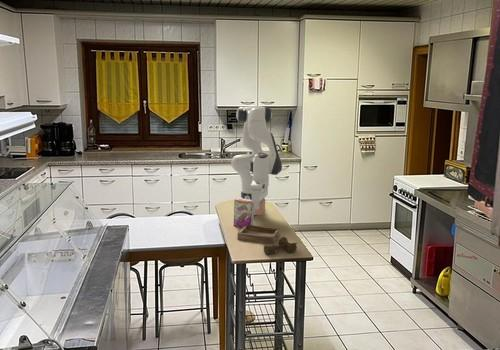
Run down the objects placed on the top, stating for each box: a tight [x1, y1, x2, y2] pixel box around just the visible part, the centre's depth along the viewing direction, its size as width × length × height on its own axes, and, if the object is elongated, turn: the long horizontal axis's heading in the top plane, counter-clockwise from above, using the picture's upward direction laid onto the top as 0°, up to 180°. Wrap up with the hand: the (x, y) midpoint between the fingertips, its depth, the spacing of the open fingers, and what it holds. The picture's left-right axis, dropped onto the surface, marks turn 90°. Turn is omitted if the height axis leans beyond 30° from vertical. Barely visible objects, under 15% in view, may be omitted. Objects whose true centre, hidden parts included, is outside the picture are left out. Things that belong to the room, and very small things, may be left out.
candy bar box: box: [233, 197, 255, 228], centre depth 268 cm, size 11×5×16 cm, turn 71°
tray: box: [236, 224, 281, 245], centre depth 251 cm, size 16×20×4 cm
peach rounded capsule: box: [255, 198, 266, 216], centre depth 248 cm, size 6×6×8 cm
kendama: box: [263, 236, 298, 256], centre depth 231 cm, size 6×10×20 cm
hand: (259, 207), depth 248 cm, fingers closed on peach rounded capsule, 6 cm apart
